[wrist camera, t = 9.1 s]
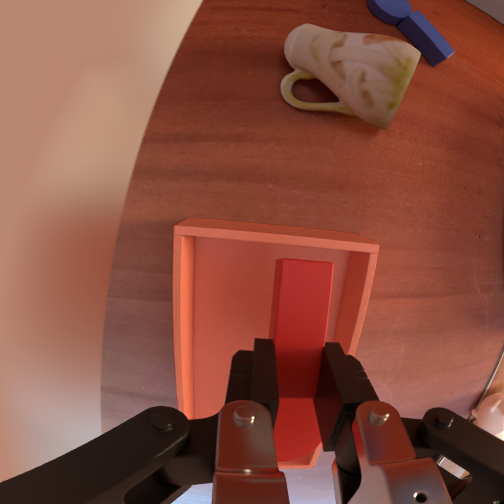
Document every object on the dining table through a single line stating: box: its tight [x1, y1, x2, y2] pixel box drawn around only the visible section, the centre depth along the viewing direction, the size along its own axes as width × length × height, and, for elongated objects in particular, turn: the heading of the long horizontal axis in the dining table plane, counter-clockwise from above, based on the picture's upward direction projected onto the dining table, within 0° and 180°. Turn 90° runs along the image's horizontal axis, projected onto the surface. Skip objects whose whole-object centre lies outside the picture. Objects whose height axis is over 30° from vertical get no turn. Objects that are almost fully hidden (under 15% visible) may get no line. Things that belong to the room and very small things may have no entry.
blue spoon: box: [367, 0, 455, 67], centre depth 16 cm, size 9×4×3 cm, turn 42°
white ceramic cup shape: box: [280, 23, 421, 130], centre depth 16 cm, size 8×10×10 cm
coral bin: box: [173, 218, 379, 469], centre depth 22 cm, size 23×13×4 cm, turn 175°
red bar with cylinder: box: [268, 258, 334, 462], centre depth 11 cm, size 9×4×3 cm, turn 175°
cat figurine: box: [472, 393, 504, 441], centre depth 24 cm, size 9×11×12 cm
